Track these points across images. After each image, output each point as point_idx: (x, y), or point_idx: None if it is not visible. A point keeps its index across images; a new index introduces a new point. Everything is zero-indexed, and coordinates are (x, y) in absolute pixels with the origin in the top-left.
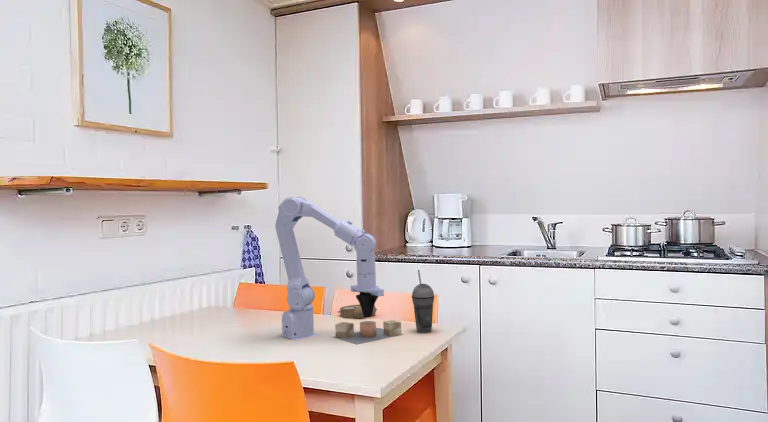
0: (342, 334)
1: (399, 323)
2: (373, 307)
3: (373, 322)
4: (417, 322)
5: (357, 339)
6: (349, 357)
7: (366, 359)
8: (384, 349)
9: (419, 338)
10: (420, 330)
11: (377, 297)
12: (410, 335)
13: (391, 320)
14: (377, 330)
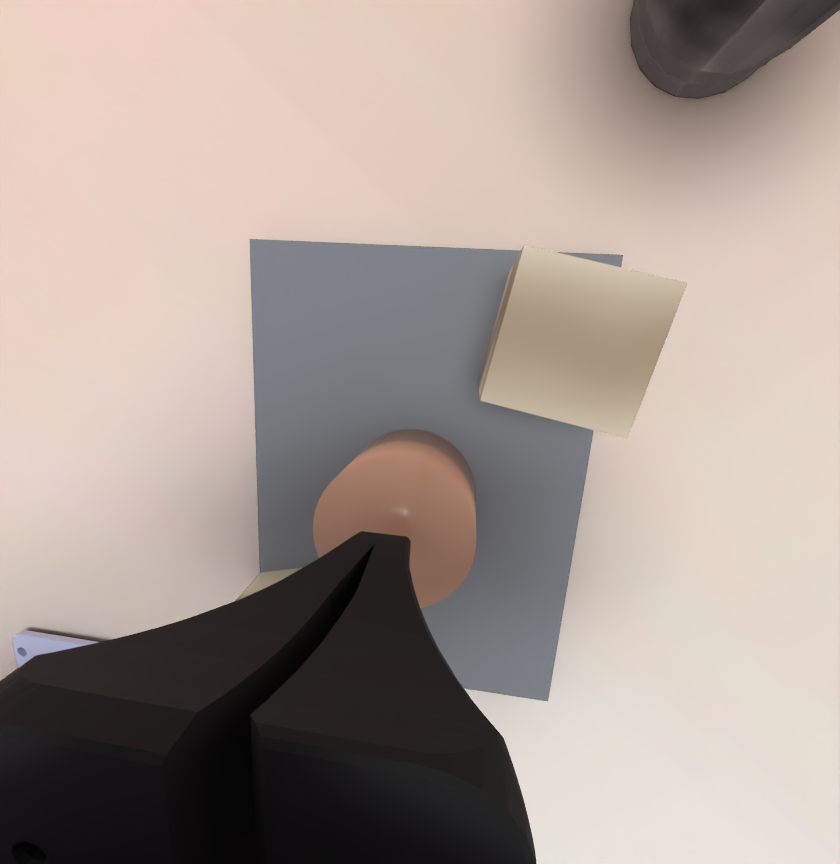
0: None
1: (672, 306)
2: (416, 598)
3: (431, 499)
4: (777, 20)
5: (445, 613)
6: (697, 859)
7: (823, 847)
8: (766, 645)
9: (804, 221)
10: (747, 68)
11: (501, 748)
12: (648, 195)
13: (515, 294)
14: (328, 321)
